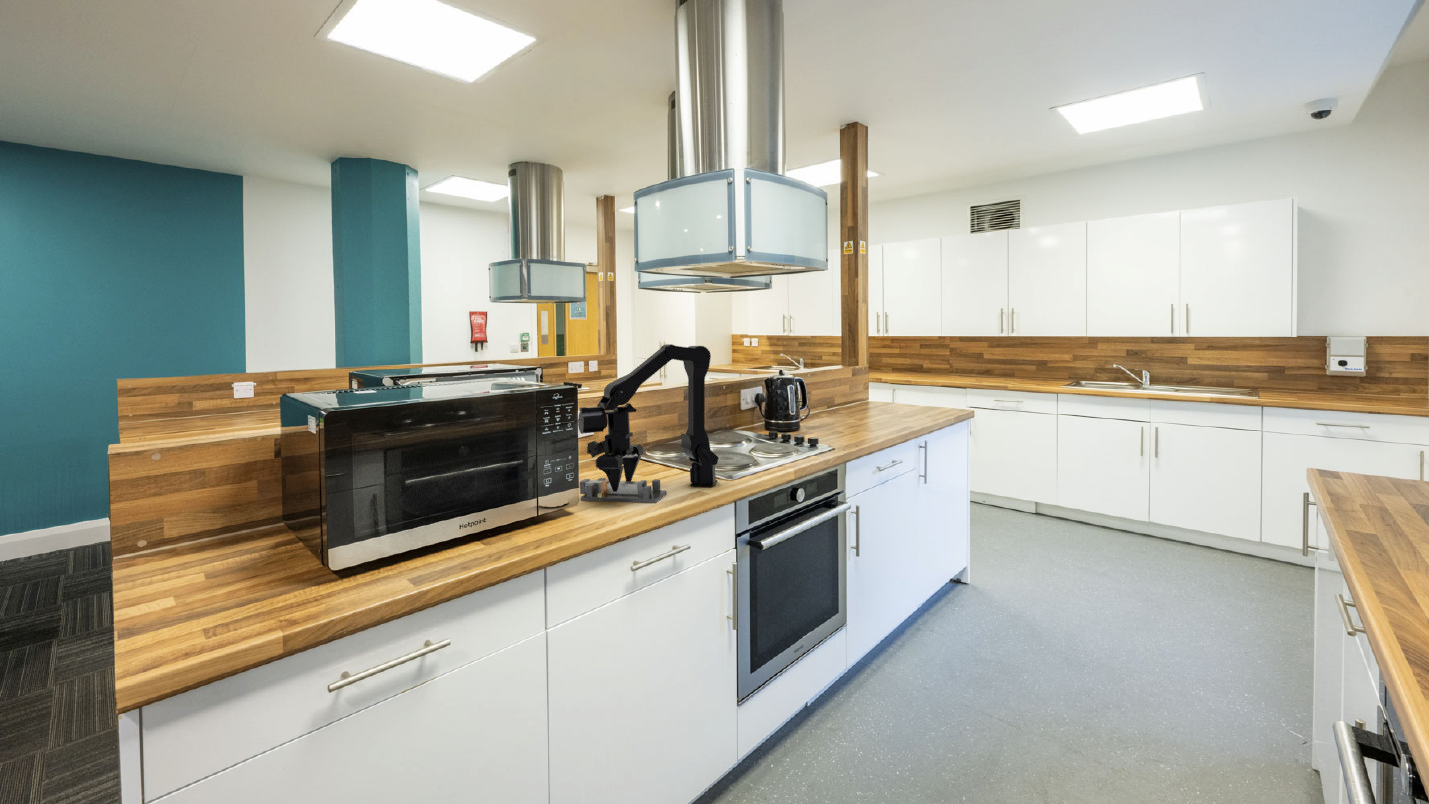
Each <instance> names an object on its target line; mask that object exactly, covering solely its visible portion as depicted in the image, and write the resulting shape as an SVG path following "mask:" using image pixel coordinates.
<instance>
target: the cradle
mask: <svg viewBox="0 0 1429 804" xmlns="http://www.w3.org/2000/svg"><path fill="white" fill-rule="evenodd" d="M597 480H600V481H604V480H606V477H600V478H598V479H597ZM651 484H652V486H651V485H647V486H644V487H643V496H638V494H608V495H604V493H603V492H600V493H595V484H589V485H587V486H586V494H582V495H581V496H580V501H585V502H608V503H610V502H613V503H635V504H637V503H638V504H639V503H643V504H656V503H658V502H659V501H661V500H662V499H663V498H664V497H665V496H666V495H667V490H665V489H662V490H661V479H659V478H658V479H655V478H654V479H652V481H651ZM663 496H664V497H663ZM658 500H659V501H658ZM657 501H658V502H657Z"/></svg>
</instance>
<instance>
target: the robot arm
mask: <svg viewBox="0 0 1429 804" xmlns="http://www.w3.org/2000/svg"><path fill="white" fill-rule="evenodd" d="M711 356H712V355H711V352H710V350H709V348H708V347H706V346H704V345H689V346H688V347H686V346H679V345H676V344H675V345H674V344H670V343H669V344H663V345H662V346H661V347H660V348H659V349H658V350H656V351H655V352H654V353H653V354H652V355H650V356H649V357H648V358H647V359H645V360H644V361H642V363H641V364H639V365H638V366H637V367H636V368H634V369H633V370H632V371H630V372H629V373H628V374H626V375H624V376H621V377H619V378H617V379H615V380H613V381H611V382H609V383H607V385H606V386H605V387H604V389H603V396H602V397H601V398H600V400H599V401H598V403H597V405H596V406H592V407H590V406H589V407H587V406H583V407H582V406H581V407H579V413H578V419H577V426H578V430H579V433H580V434H581V435H582V434H592V433H601V432H604V430H605V429H607V432H608V433H607V434H605V436H604V440H602V441H600V442H597V441H596V440H593V441H590V442H587V446H586V449H587V450H586V453H587V454H589V455H590V457H591V458H595V457H597V456H598V457H597V458H596V459H595V468H597V469H598V470H600V471H602V472H604V474H605V475H606V477H607V479H608V480H609V482H610V485H611V487H612V490H613V492H617V490H618V487H619V483H620V481H621V480H622V475H623V472H624V478H625V481H633V478H634V474H635V472H636V469H637V468H638V465H639V462H640V460H641V458H642V455H644V448H643V446H642V445H641V444H636V443H634V444H633V443H631V437H633V436H634V434H633V431H631V430H630V429H631V427H630V426H631V425H630V413H636V412H637V411H638V410H637V408H635V407H634V406H633V405H632V404H631V403H630V400H631V399H632V398H633V397H634V396H635V395H636V393H637V391H638V389H639V388H640V386H641V385H643V383H645V382H647V381H648V380H649V379H650V378H651V377H652V376H653V375H655V374H656V373H657V372H658V371H660V370H661V369H662V368H663V367H665V365H667V364H668V363H669V362H671V360H673V361H674V360H675V361H680V362H682V363H683V367H684V371H685V373H686V376H687V378H688V379H687V382H688V383H687V384H688V385H687V392H688V393H687V397H688V398H687V399H688V400H687V407H688V409H687V412H688V413H687V414H688V415H687V417H688V418H687V420H688V421H687V425H688V426H687V430H686V432H685V433H681V434H680V438H681V445H680V448H682V452H683V453H684V455H685V456H686V457H688V459H689V462H692V463H691V468H690V469H689V476H690V478H689V479H690V487H701V488H702V487H706V488H710V487H711V488H712V487H713V486H714V485H716V483H717V482H718V480H717V477H716V466H717V465H718V463H719V456H718V455H717V454H715V453H714V452H713V451H712V450H711V445H710V439H709V435H708V433H707V430H706V427H705V425H706V424H705V423H706V422H705V415H706V413H705V410H706V409H705V408H706V407H705V405H706V404H705V403H706V398H705V397H706V396H705V395H706V393H705V392H706V388H705V387H706V383H705V382H706V381H705V379H706V376H707V375H708V371H709V369H710V365H711ZM603 453H604V454H603ZM601 454H602V455H601Z"/></svg>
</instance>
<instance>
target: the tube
mask: <svg viewBox="0 0 1429 804" xmlns="http://www.w3.org/2000/svg"><path fill="white" fill-rule="evenodd" d="M647 482H648V481H647V480H644V479H642V480H640V481H635V480H634V481H633V480H631V481H626V480H620V483H619V487H618V490H617V492H613V490H612V487H611V485H610V482H609V480H608V478H607V479H606V480H604V481H600V480H598V479H597V480H596V479H595V480H593V479H590V478H584V479H582V480H580V481H579V494H580V495H585V494H586V486H587V485H589V484H595V493H600V492H603V493H604V495H608V494H638V496H643V487H644V486H648V483H647Z"/></svg>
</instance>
